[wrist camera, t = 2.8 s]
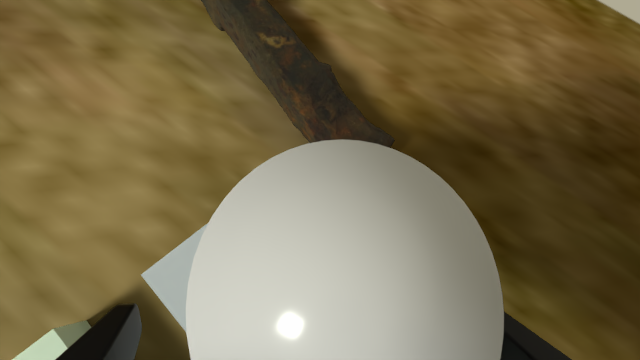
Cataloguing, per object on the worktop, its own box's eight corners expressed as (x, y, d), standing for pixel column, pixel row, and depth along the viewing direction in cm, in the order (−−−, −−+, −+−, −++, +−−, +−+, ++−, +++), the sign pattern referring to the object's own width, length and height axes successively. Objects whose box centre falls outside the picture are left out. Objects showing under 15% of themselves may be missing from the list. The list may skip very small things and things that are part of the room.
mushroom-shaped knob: (351, 283, 17) (554, 296, 6) (281, 357, 15) (359, 606, 4) (291, 213, 18) (360, 90, 6) (215, 277, 16) (106, 278, 4)
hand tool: (379, 164, 20) (413, 133, 16) (332, 197, 19) (355, 172, 14) (225, -40, 23) (218, -114, 18) (174, -24, 21) (153, -101, 17)
